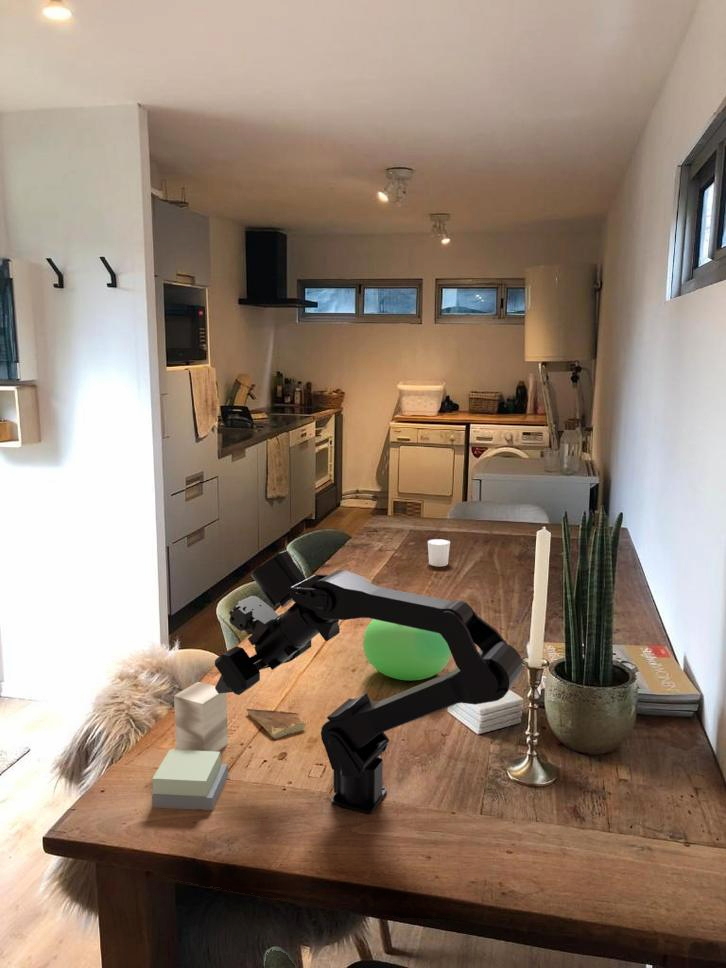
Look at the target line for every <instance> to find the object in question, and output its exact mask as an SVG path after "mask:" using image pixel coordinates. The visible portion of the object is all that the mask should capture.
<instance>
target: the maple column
mask: <svg viewBox="0 0 726 968" xmlns="http://www.w3.org/2000/svg"><path fill="white" fill-rule="evenodd" d="M215 687H216V685H211V684H209V683H205V682H200V681H197V682H195V683H194V684H193V683H192V684H191V685H190V686H188V687H187V688H185V689H183V690H182V691H180V692H177V693H175V695H174V696H173V703H174V704H173V706H174V727H175V745H176V750H194V751H215V752H220V751H221V750H222V749H224V748H225V747H226V746H228V745H229V736H228V735H229V733H228V730H229V729H228V710H227V708H228V707H227V693H220V694H219V693H218V692H217V691H216V689H215Z"/></svg>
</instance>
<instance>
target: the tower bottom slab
mask: <svg viewBox="0 0 726 968" xmlns="http://www.w3.org/2000/svg"><path fill="white" fill-rule="evenodd" d="M228 766H229V764H228V763H221V767H220V769H219V771H218V774H217V776H216V778H215V780H214V782H213V784H212V786H211V788H210V791H209V793H208V795H207V797H204V796H183V795H164V794H153V793H152V794H151V804H152V806H151V807H152V808H159V809H177V810H178V809H179V810H180V809H181V810H196V809H203V810H202V811H213V810H214V808H215V806H216V804H217V802H216V801H218V799H219V797H220V795H219V794H221V793H220V791H221V792H222V790H223V788H224V786H223V785H225V784H224V783H226V782H225V781H227V779H228V777H229V768H228ZM222 787H223V788H222ZM218 796H219V797H218ZM217 798H218V799H217ZM215 803H216V804H215ZM205 809H206V810H205Z"/></svg>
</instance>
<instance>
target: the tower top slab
mask: <svg viewBox="0 0 726 968" xmlns="http://www.w3.org/2000/svg"><path fill="white" fill-rule="evenodd" d="M221 757H222V756H221V751H218V752H215V751H194V750H177V749H172V748H171V749H169V750H168V751H167V753H166V755H165V757H164V759H163V760H162V762H161V763H160V765H159V766H158V768H157V769H156V771H155V773H154V775H153V777H152V779H151V780H152V794H164V795H183V796H204V797H207V795H208V793H209V791H210V788H211V786H212V784H213V782H214V780H215V778H216V776H217V774H218V771H219V769H220V767H221V764H222V763H221V761H222V760H221Z"/></svg>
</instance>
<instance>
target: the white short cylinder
mask: <svg viewBox="0 0 726 968" xmlns="http://www.w3.org/2000/svg"><path fill="white" fill-rule="evenodd" d="M450 547H451V541H450V540H447V539H440V538H434V539H429V540H427V550H428V551H427V554H428V565H430V566H433V567H440V568H441V567H445V566H448V563H449V556H450Z"/></svg>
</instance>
